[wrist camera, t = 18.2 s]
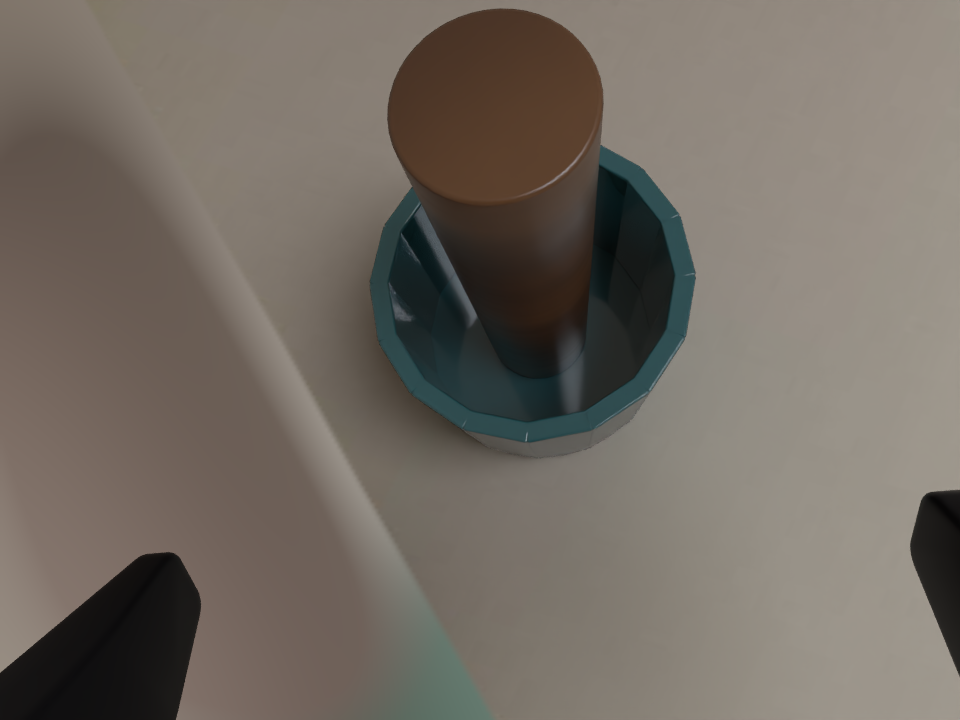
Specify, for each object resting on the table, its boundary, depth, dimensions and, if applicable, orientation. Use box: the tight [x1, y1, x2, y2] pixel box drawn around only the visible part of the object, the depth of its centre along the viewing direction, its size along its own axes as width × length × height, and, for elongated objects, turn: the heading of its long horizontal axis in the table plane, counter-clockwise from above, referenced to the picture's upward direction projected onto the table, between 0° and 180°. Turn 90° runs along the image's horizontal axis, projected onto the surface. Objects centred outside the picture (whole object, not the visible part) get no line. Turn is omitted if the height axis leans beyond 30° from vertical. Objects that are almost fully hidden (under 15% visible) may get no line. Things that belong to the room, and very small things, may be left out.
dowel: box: [387, 9, 604, 378], centre depth 16 cm, size 3×3×13 cm
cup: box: [370, 145, 696, 458], centre depth 20 cm, size 8×8×6 cm
